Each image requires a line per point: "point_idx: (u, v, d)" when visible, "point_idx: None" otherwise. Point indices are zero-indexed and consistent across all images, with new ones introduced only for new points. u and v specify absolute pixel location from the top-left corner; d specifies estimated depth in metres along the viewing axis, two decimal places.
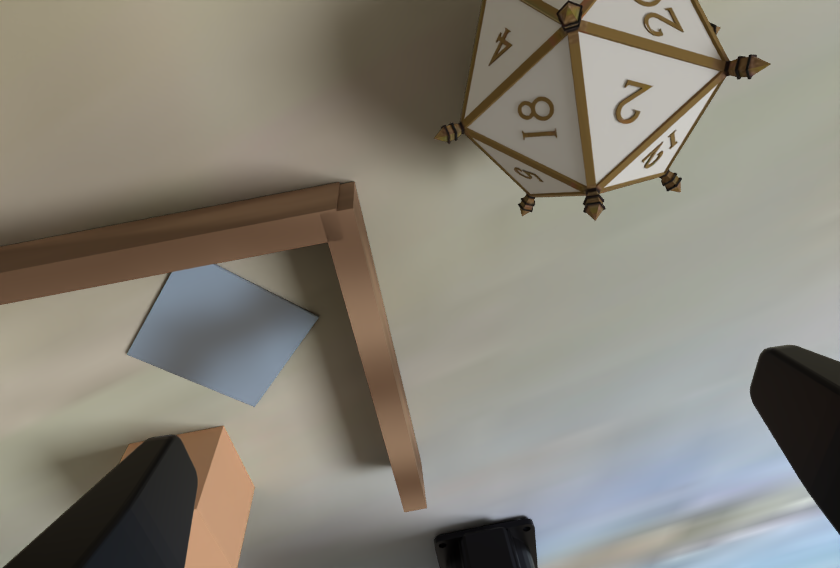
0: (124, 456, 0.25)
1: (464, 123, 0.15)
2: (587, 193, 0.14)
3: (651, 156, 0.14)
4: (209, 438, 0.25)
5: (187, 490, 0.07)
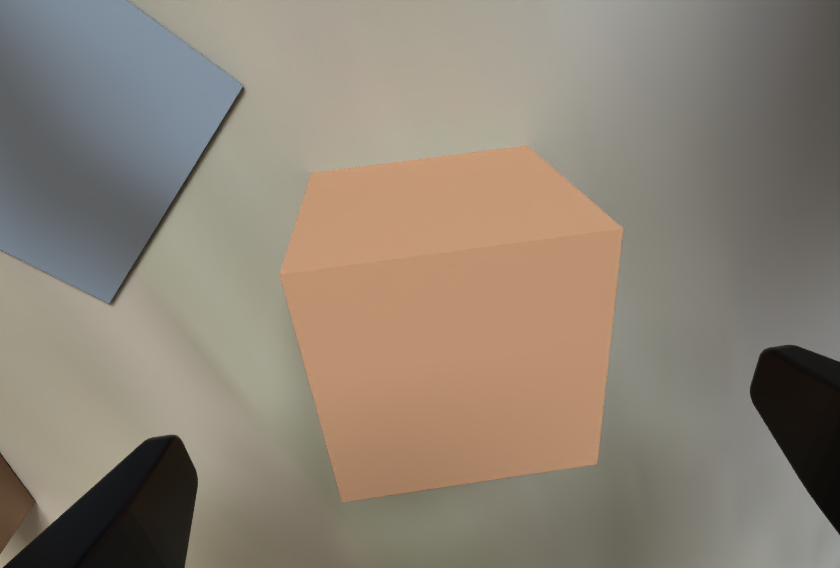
0: None
1: None
2: None
3: None
4: None
5: (187, 490, 0.07)
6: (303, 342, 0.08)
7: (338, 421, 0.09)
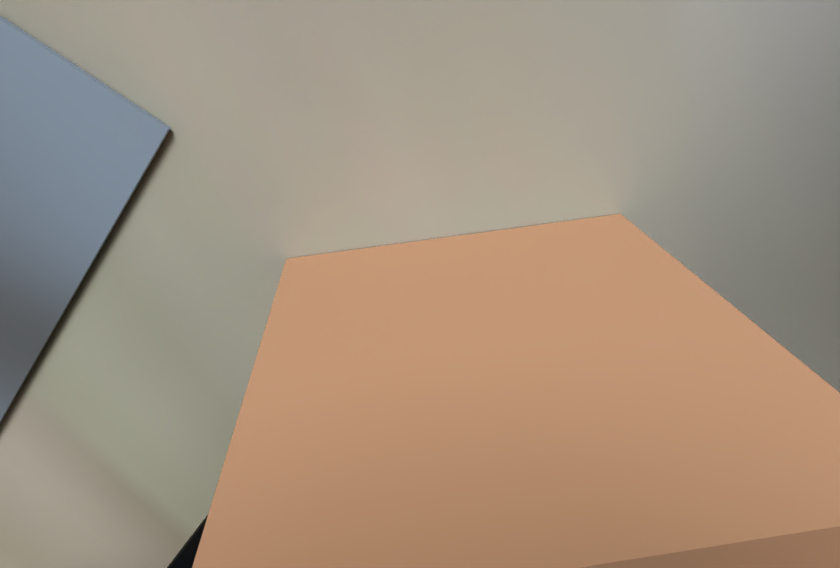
0: None
1: None
2: None
3: None
4: None
5: None
6: None
7: None
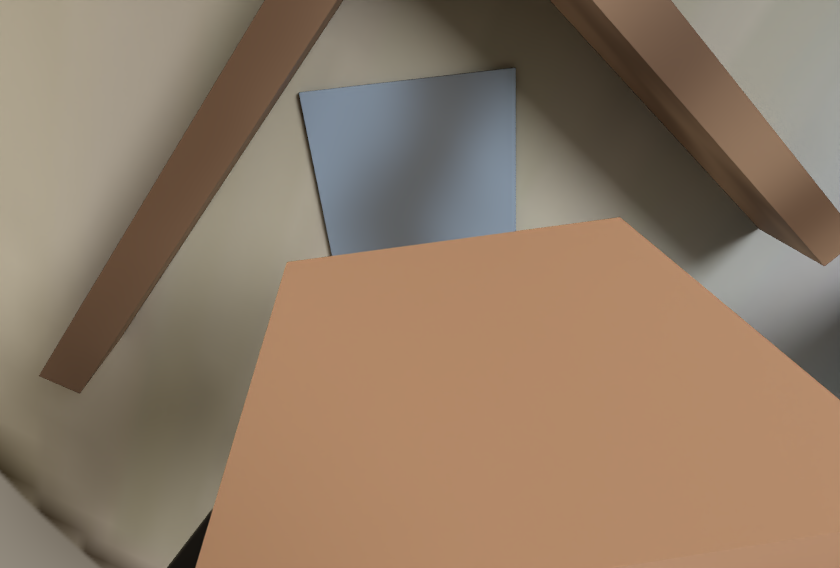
0: None
1: None
2: None
3: None
4: None
5: None
6: None
7: None
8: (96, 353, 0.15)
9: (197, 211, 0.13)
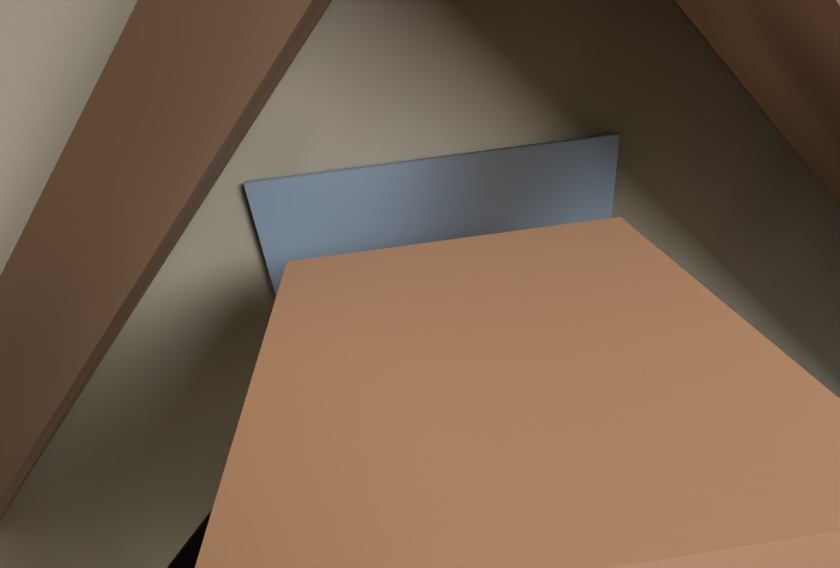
0: None
1: None
2: None
3: None
4: None
5: None
6: None
7: None
8: None
9: (39, 432, 0.07)
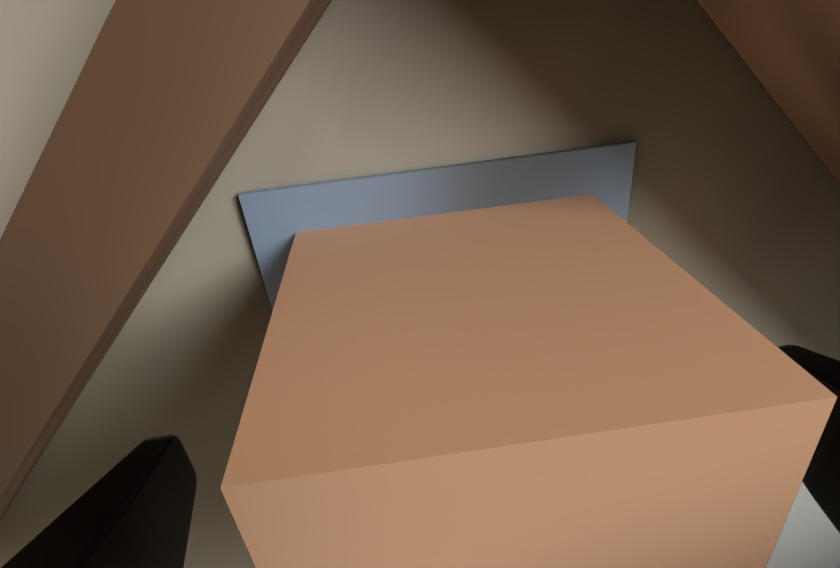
0: None
1: None
2: None
3: None
4: None
5: (186, 490, 0.07)
6: None
7: None
8: None
9: (17, 465, 0.06)
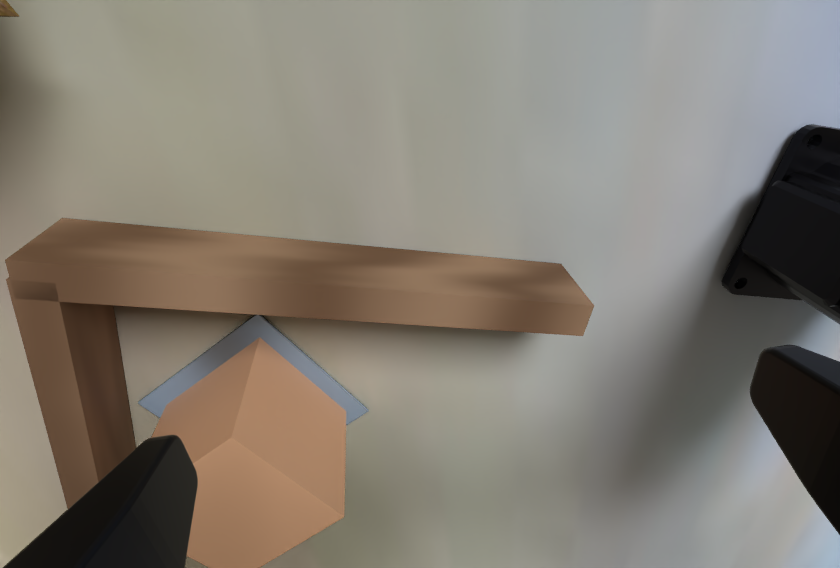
0: None
1: None
2: None
3: None
4: None
5: (187, 490, 0.07)
6: None
7: (195, 552, 0.17)
8: None
9: None
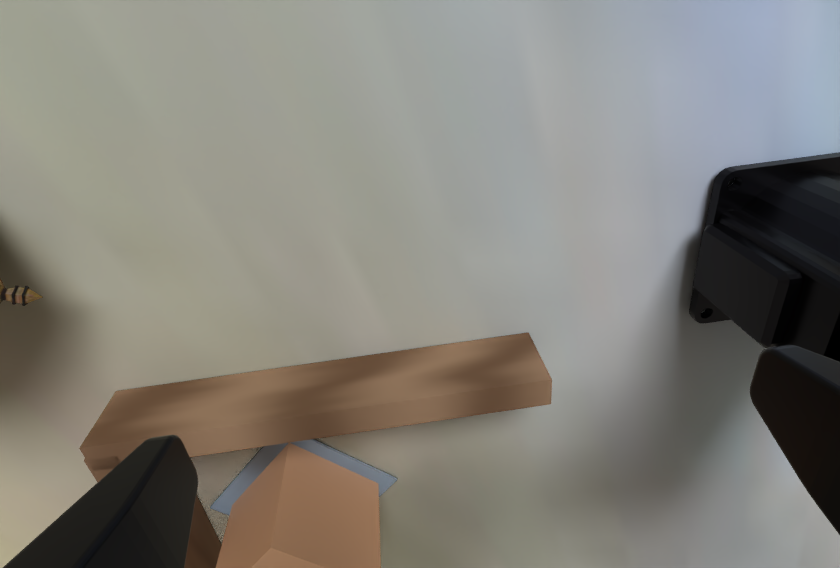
0: None
1: None
2: None
3: None
4: None
5: (187, 490, 0.07)
6: None
7: None
8: None
9: None
